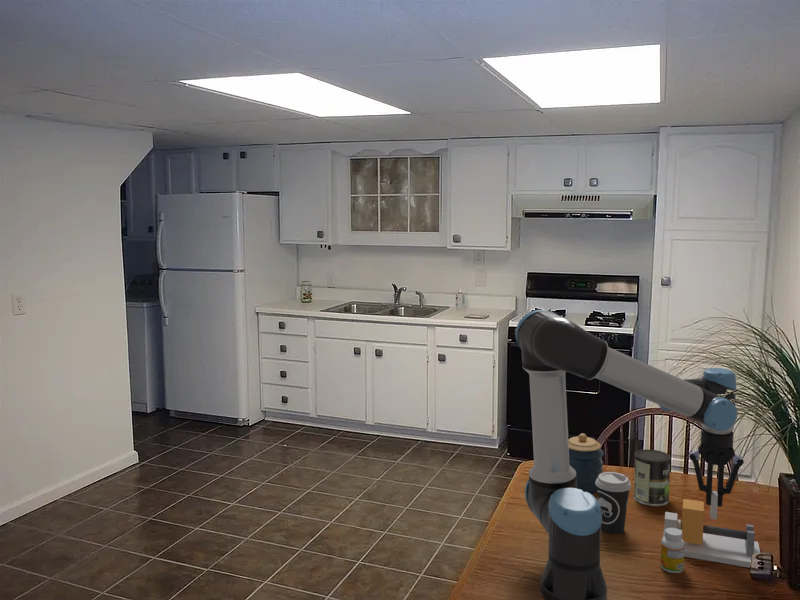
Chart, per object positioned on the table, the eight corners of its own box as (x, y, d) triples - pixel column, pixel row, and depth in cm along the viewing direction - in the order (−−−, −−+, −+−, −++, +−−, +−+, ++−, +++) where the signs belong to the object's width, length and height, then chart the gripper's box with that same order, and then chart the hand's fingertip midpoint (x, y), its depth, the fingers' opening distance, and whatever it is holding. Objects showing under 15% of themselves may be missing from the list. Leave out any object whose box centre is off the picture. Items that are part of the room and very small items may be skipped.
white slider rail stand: (762, 569, 169) (763, 540, 168) (662, 552, 178) (663, 524, 177) (757, 547, 180) (759, 519, 179) (664, 532, 189) (665, 505, 188)
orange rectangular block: (702, 544, 177) (704, 511, 175) (681, 541, 179) (682, 508, 177) (702, 534, 182) (703, 501, 181) (681, 531, 184) (683, 498, 183)
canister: (554, 480, 225) (555, 428, 222) (591, 477, 227) (592, 425, 225) (571, 497, 212) (572, 442, 210) (610, 493, 215) (611, 439, 212)
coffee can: (671, 496, 212) (673, 452, 209) (665, 509, 203) (667, 463, 201) (637, 489, 217) (638, 446, 215) (629, 502, 208) (630, 457, 206)
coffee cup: (632, 538, 186) (633, 485, 184) (595, 535, 188) (596, 483, 186) (627, 522, 195) (629, 472, 193) (592, 519, 197) (594, 469, 195)
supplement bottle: (660, 560, 174) (662, 524, 173) (683, 564, 172) (685, 528, 171) (660, 571, 169) (661, 534, 168) (683, 575, 167) (685, 538, 166)
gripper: (744, 427, 175) (740, 514, 179) (689, 422, 180) (686, 507, 184) (747, 436, 168) (742, 527, 172) (689, 431, 173) (686, 519, 177)
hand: (713, 516), depth 178 cm, fingers closed
